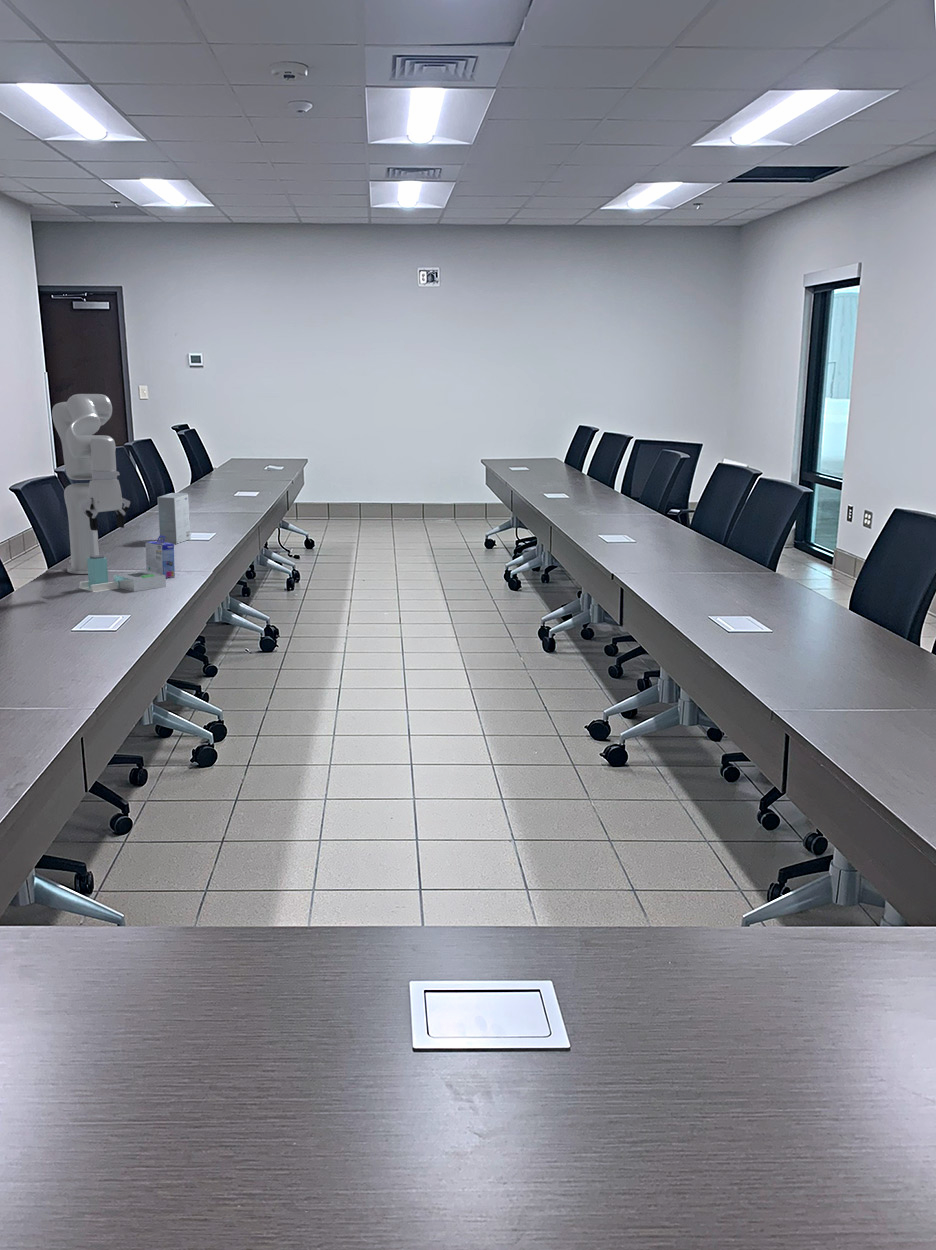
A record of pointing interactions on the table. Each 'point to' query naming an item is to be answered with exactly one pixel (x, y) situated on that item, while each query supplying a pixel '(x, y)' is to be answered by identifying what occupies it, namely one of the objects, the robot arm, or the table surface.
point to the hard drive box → (174, 517)
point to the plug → (97, 570)
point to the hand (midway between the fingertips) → (107, 528)
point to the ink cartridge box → (160, 557)
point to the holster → (98, 586)
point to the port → (140, 580)
